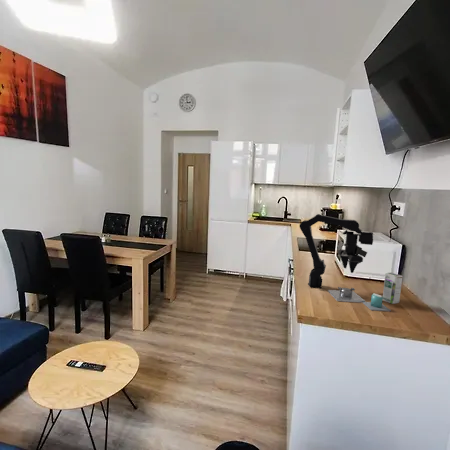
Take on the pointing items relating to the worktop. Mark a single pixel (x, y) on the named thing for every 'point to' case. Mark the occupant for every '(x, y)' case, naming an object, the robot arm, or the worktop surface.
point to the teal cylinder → (376, 300)
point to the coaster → (375, 307)
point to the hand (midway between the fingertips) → (348, 270)
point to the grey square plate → (346, 295)
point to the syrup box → (392, 288)
